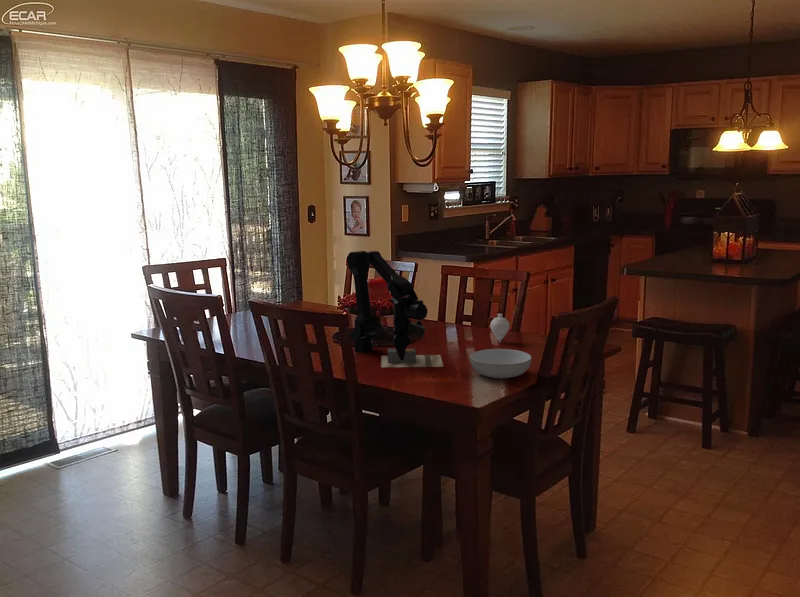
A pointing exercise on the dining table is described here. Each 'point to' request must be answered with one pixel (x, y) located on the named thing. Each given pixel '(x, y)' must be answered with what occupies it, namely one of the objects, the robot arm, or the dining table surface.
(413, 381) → the dining table surface
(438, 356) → the board
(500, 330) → the spinning top
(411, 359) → the block
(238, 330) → the dining table surface
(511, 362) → the serving bowl
